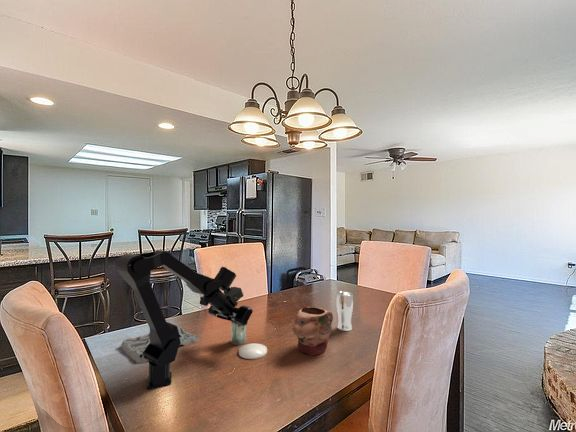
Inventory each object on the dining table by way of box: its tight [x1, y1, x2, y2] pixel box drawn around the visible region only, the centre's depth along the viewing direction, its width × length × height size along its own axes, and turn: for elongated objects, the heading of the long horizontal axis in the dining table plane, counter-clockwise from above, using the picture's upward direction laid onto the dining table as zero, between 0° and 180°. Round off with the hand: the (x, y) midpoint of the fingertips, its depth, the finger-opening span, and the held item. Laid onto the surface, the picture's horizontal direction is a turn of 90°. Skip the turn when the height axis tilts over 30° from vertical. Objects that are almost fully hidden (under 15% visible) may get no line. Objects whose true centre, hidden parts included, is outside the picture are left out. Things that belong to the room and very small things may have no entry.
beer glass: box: [336, 290, 354, 332], centre depth 123 cm, size 7×7×15 cm
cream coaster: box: [238, 343, 268, 360], centre depth 102 cm, size 10×10×1 cm
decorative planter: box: [292, 306, 334, 356], centre depth 105 cm, size 20×12×14 cm, turn 138°
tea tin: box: [230, 314, 247, 346], centre depth 110 cm, size 6×6×10 cm
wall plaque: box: [120, 325, 200, 364], centre depth 108 cm, size 24×19×4 cm
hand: (241, 322), depth 111 cm, fingers closed on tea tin, 5 cm apart
